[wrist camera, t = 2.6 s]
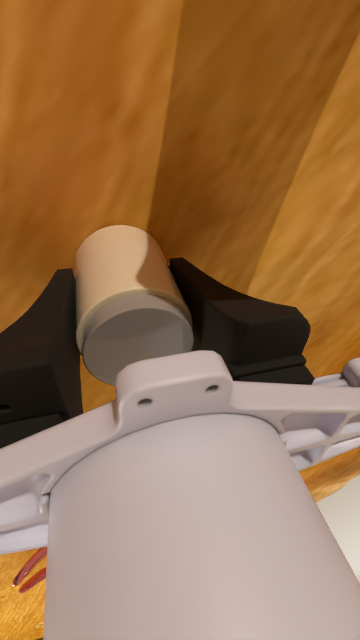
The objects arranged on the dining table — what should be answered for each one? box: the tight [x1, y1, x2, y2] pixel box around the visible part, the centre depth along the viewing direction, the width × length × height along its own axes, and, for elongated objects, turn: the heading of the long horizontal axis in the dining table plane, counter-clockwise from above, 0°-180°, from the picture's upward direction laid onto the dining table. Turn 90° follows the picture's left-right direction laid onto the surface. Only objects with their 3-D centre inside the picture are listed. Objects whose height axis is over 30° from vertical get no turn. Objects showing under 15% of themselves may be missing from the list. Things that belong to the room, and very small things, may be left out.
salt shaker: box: [74, 225, 194, 386], centre depth 13 cm, size 4×4×6 cm
